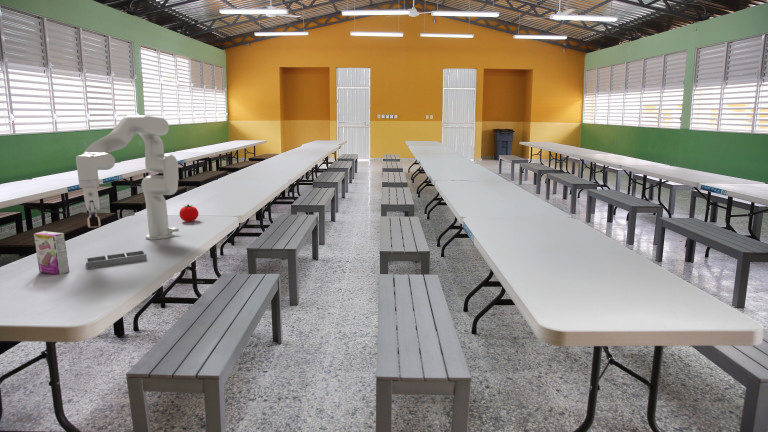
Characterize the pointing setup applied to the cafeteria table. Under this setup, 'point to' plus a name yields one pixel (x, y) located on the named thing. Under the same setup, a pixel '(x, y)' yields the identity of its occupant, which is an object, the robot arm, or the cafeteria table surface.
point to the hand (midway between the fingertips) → (94, 224)
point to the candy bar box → (51, 252)
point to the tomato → (188, 213)
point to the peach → (89, 222)
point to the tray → (115, 259)
